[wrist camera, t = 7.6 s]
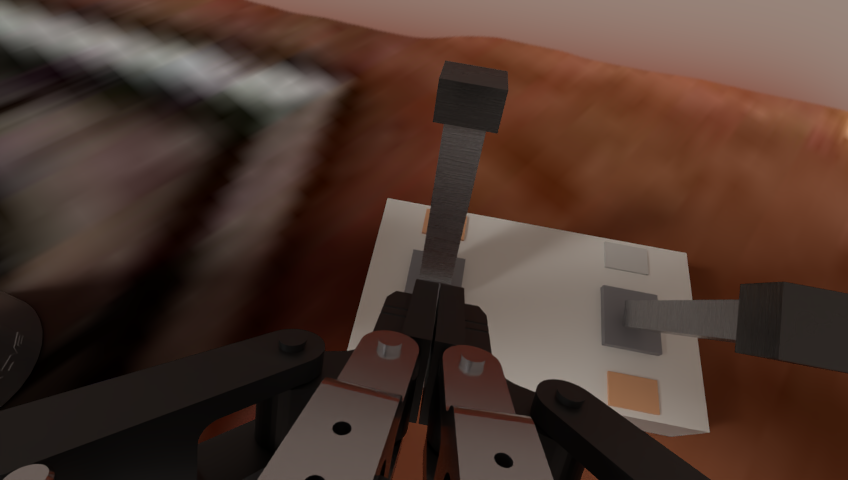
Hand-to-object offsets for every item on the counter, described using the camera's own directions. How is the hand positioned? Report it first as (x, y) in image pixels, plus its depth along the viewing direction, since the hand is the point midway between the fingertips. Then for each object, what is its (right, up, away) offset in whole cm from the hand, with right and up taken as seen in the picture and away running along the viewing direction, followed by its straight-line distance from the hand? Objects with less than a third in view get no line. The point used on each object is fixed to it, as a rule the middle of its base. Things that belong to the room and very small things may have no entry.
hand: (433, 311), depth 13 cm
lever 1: (0, 0, +14) cm, 14 cm away
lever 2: (+13, -3, +14) cm, 19 cm away
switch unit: (+7, -4, +19) cm, 20 cm away
